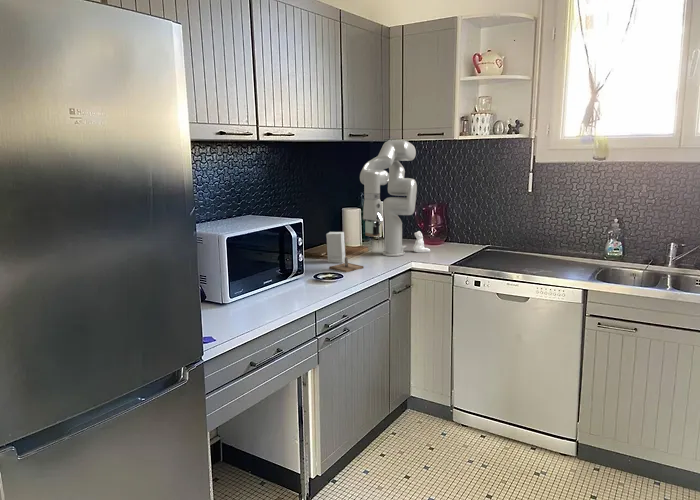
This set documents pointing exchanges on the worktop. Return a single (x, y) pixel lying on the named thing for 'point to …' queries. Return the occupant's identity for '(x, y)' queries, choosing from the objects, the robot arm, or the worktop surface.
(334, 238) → the skincare box
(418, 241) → the white creature statuette
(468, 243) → the worktop surface
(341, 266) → the pin board
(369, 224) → the sleeve
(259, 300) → the worktop surface
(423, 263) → the worktop surface
